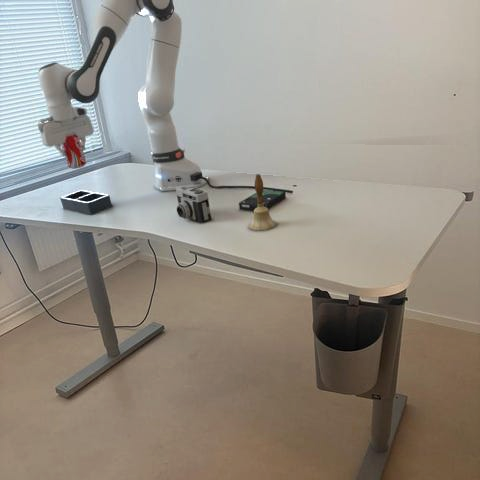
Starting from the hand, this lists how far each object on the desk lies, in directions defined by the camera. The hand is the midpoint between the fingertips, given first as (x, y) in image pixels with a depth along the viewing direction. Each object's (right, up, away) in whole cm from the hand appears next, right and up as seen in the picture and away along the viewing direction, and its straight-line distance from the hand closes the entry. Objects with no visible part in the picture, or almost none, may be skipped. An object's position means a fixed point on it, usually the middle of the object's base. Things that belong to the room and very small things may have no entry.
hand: (73, 153), depth 185 cm
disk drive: (+71, -23, -13) cm, 75 cm away
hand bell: (+70, -33, -31) cm, 83 cm away
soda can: (+1, -5, +3) cm, 5 cm away
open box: (+2, -18, +10) cm, 21 cm away
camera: (+46, -28, -17) cm, 57 cm away
